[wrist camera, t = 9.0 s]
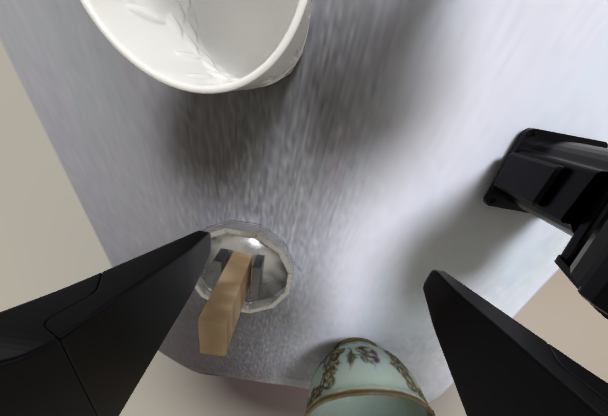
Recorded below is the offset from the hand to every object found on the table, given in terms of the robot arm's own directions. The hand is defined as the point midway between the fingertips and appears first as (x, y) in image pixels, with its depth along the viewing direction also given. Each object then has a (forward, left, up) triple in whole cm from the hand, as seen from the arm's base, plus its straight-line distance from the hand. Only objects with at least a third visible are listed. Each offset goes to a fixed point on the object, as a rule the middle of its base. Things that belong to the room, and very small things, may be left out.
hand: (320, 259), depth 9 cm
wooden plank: (+6, +12, -12) cm, 18 cm away
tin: (+6, +12, -12) cm, 18 cm away
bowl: (-10, +24, -12) cm, 29 cm away
